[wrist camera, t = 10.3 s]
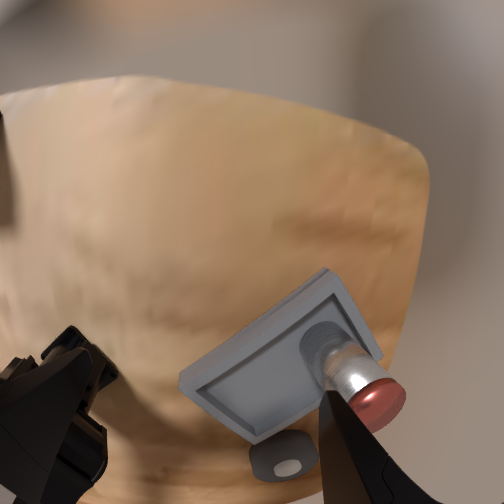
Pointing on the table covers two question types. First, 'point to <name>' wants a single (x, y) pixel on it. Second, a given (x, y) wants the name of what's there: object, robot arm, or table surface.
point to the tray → (273, 362)
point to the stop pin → (351, 374)
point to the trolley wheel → (283, 456)
